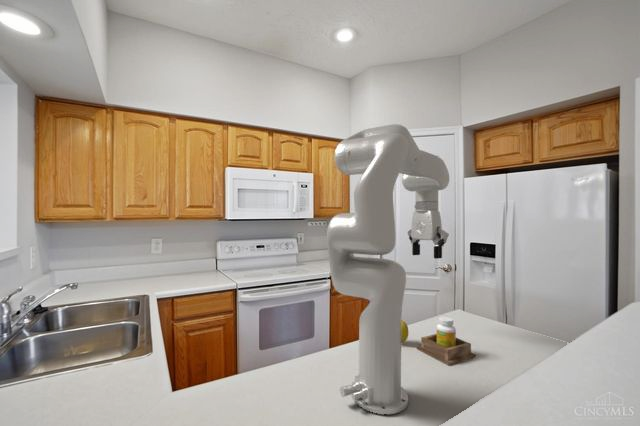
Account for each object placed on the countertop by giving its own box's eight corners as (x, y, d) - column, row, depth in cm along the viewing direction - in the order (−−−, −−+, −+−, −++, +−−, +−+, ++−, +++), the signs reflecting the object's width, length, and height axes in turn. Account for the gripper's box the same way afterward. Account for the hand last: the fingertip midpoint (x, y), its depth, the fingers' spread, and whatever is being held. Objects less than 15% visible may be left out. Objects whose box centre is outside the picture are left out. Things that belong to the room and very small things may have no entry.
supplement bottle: (435, 352, 89) (435, 319, 90) (437, 345, 94) (437, 315, 94) (454, 356, 87) (455, 322, 87) (456, 349, 91) (456, 317, 92)
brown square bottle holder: (448, 365, 83) (448, 352, 83) (416, 348, 93) (416, 336, 93) (476, 357, 88) (476, 344, 88) (443, 342, 99) (443, 330, 99)
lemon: (390, 345, 95) (390, 320, 96) (391, 339, 101) (391, 315, 101) (408, 348, 94) (408, 322, 94) (408, 341, 99) (408, 317, 99)
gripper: (401, 207, 109) (400, 254, 108) (439, 206, 93) (439, 260, 93) (416, 208, 112) (416, 253, 112) (455, 206, 97) (455, 259, 96)
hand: (426, 256), depth 102 cm, fingers open, 9 cm apart
